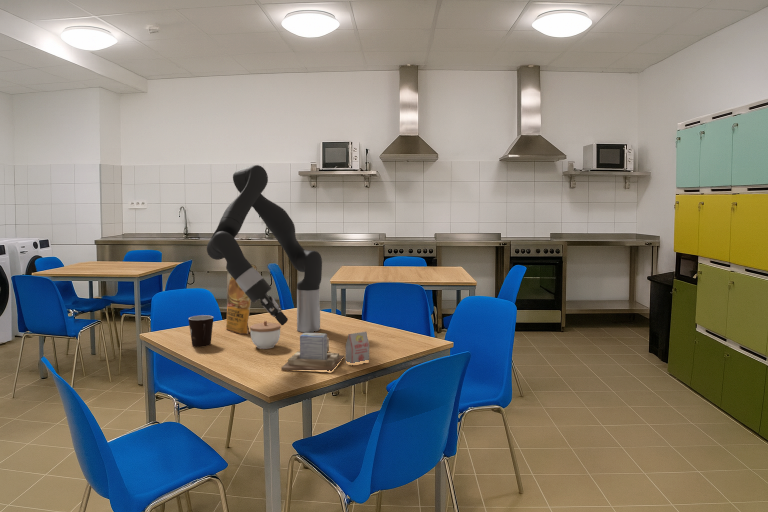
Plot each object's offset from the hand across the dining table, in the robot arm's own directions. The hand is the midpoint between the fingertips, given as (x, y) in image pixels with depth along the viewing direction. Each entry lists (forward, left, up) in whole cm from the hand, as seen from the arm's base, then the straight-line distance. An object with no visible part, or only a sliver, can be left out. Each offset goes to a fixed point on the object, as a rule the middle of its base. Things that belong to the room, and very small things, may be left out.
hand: (285, 322), depth 161 cm
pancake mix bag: (-27, -41, -13) cm, 51 cm away
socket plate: (0, +11, -12) cm, 17 cm away
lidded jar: (-11, -16, -13) cm, 23 cm away
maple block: (-12, +6, -13) cm, 18 cm away
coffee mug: (-2, -38, -13) cm, 40 cm away
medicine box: (0, +11, -12) cm, 16 cm away
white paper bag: (-7, +23, -13) cm, 27 cm away
